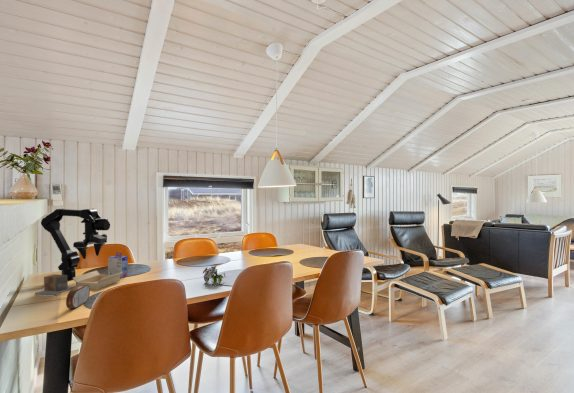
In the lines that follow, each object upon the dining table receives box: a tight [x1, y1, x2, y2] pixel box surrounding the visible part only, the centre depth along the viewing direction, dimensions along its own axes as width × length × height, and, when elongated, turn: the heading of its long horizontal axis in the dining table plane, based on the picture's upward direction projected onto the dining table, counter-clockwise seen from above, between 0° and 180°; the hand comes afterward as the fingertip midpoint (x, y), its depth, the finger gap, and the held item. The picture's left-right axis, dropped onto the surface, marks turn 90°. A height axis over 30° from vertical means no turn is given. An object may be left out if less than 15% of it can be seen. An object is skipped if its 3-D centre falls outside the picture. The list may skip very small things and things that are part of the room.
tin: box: [65, 284, 91, 309], centre depth 144 cm, size 15×3×8 cm, turn 5°
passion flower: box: [202, 264, 226, 286], centre depth 177 cm, size 11×11×12 cm
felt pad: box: [34, 285, 76, 297], centre depth 165 cm, size 12×12×1 cm
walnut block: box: [43, 273, 69, 291], centre depth 165 cm, size 9×5×7 cm, turn 78°
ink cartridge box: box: [107, 252, 129, 279], centre depth 191 cm, size 10×6×14 cm, turn 78°
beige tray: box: [72, 270, 123, 290], centre depth 176 cm, size 18×16×6 cm
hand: (91, 257), depth 187 cm, fingers open, 9 cm apart
